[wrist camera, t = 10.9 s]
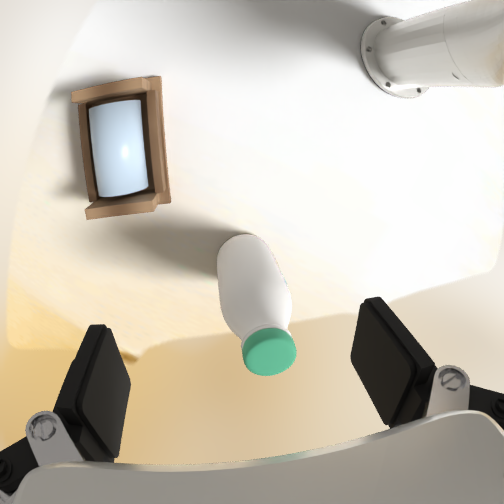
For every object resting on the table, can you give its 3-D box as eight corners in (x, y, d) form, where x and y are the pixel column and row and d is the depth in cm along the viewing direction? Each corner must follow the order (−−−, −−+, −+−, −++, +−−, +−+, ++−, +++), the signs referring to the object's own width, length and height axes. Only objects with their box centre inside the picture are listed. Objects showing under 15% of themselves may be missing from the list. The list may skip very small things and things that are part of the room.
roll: (99, 108, 31) (80, 108, 26) (145, 100, 32) (132, 96, 26) (108, 189, 36) (91, 201, 30) (153, 183, 36) (142, 194, 31)
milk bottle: (205, 263, 43) (206, 367, 25) (241, 221, 41) (269, 307, 23) (247, 292, 45) (272, 398, 27) (283, 254, 44) (332, 348, 26)
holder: (161, 77, 32) (151, 68, 26) (171, 201, 38) (163, 217, 32) (86, 91, 31) (63, 87, 24) (99, 209, 37) (80, 227, 31)
